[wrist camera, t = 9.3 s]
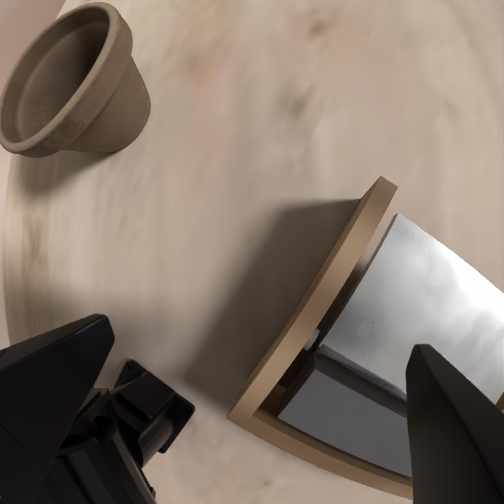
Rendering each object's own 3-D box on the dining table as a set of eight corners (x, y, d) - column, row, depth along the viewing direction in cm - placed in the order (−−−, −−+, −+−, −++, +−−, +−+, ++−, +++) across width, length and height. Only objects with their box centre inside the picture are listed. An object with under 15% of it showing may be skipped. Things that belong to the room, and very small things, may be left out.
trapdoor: (426, 463, 14) (438, 486, 11) (277, 391, 16) (272, 414, 13) (523, 323, 13) (547, 330, 10) (389, 218, 15) (405, 209, 12)
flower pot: (193, 150, 21) (117, 82, 11) (78, 203, 23) (-13, 181, 13) (170, 47, 22) (117, -23, 12) (74, 101, 23) (7, 60, 14)
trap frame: (411, 462, 17) (429, 504, 11) (246, 380, 20) (226, 417, 14) (514, 314, 16) (557, 325, 10) (360, 198, 19) (380, 175, 13)
